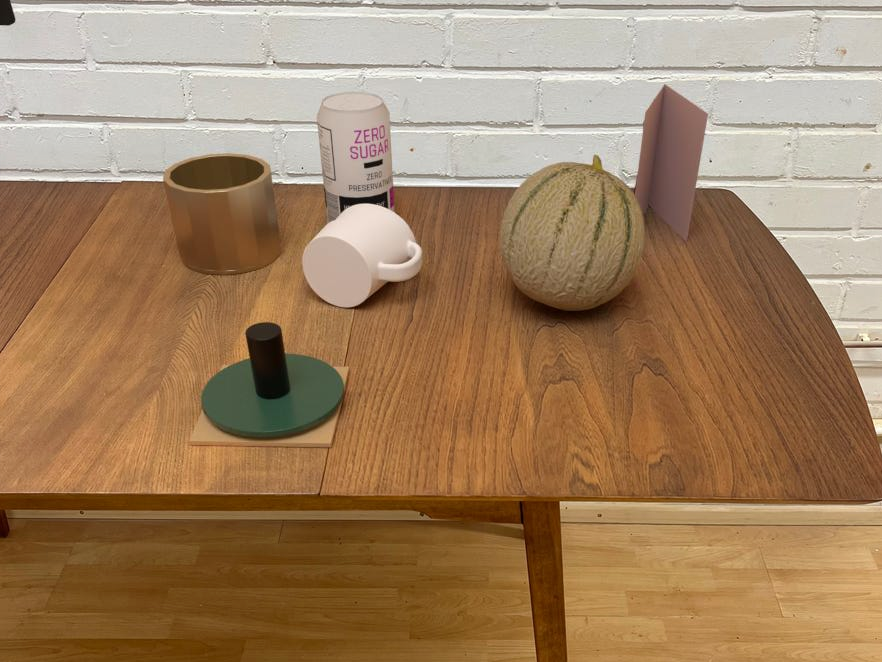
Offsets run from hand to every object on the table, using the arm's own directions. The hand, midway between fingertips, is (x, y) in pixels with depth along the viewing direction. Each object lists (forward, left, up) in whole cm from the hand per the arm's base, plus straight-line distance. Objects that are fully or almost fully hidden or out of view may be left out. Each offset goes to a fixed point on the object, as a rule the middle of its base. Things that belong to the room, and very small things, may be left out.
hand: (25, 8), depth 67 cm
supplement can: (+36, 0, -31) cm, 47 cm away
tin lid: (+2, -18, -29) cm, 34 cm away
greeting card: (+58, -30, -31) cm, 72 cm away
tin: (+22, +8, -30) cm, 38 cm away
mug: (+24, -11, -31) cm, 40 cm away
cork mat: (+2, -18, -30) cm, 35 cm away
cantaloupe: (+34, -30, -31) cm, 55 cm away
